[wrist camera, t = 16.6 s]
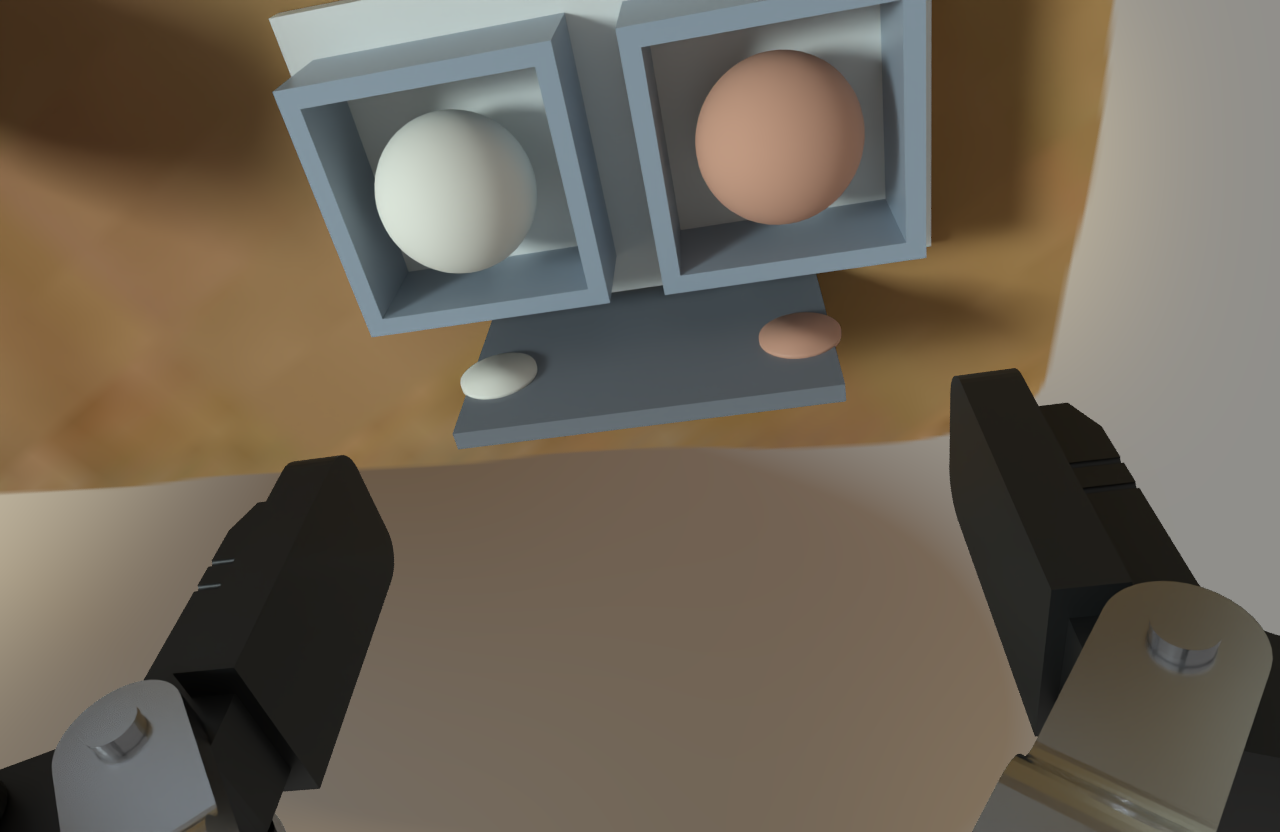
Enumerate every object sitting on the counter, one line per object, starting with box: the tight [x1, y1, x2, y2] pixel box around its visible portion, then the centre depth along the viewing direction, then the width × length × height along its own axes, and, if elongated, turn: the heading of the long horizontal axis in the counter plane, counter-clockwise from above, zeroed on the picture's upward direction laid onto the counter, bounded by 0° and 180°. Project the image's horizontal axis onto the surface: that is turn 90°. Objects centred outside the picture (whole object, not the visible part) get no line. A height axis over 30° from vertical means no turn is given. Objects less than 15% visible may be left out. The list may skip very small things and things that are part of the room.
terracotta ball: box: [695, 49, 865, 225], centre depth 27 cm, size 5×5×5 cm
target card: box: [453, 274, 846, 449], centre depth 31 cm, size 1×13×8 cm, turn 100°
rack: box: [269, 0, 932, 337], centre depth 29 cm, size 11×20×4 cm, turn 100°
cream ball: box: [374, 109, 537, 273], centre depth 29 cm, size 5×5×5 cm
